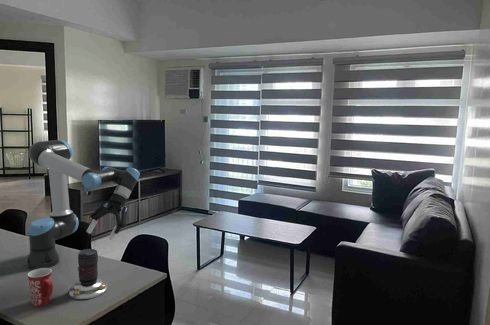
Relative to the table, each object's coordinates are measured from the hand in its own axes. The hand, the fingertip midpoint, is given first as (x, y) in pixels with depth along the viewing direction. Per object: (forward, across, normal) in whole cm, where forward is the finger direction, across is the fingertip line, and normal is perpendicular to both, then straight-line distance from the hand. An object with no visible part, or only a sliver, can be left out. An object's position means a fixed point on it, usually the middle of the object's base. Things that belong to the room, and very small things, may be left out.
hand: (99, 236), depth 170 cm
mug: (+34, +5, +5) cm, 35 cm away
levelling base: (+23, -4, -7) cm, 25 cm away
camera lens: (+21, -3, -5) cm, 21 cm away
